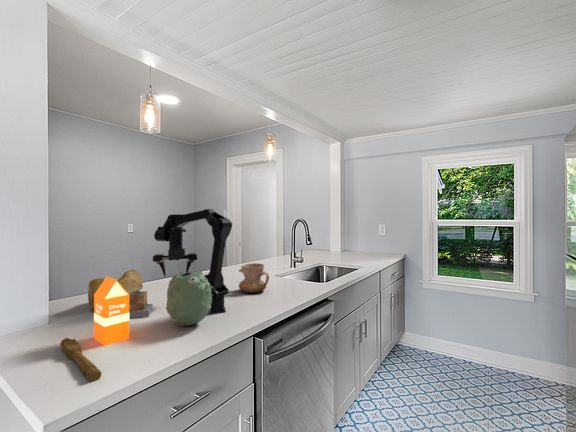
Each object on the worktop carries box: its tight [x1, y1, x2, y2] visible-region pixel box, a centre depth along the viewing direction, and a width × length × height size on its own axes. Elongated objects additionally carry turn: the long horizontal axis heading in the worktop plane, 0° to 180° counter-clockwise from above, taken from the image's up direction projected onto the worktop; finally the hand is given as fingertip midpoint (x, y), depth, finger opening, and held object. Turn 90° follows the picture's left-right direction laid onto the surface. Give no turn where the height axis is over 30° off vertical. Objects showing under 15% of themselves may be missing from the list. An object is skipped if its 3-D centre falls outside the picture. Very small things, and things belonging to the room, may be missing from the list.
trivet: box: [129, 303, 154, 319], centre depth 126 cm, size 10×10×2 cm
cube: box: [129, 290, 148, 311], centre depth 126 cm, size 6×6×6 cm
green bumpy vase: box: [165, 270, 213, 327], centre depth 114 cm, size 16×19×20 cm
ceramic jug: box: [238, 262, 270, 294], centre depth 164 cm, size 18×14×14 cm
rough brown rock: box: [87, 269, 144, 310], centre depth 140 cm, size 23×17×15 cm
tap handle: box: [60, 337, 102, 383], centre depth 86 cm, size 3×3×30 cm
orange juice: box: [93, 276, 130, 347], centre depth 101 cm, size 8×9×20 cm
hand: (175, 276), depth 139 cm, fingers open, 9 cm apart
